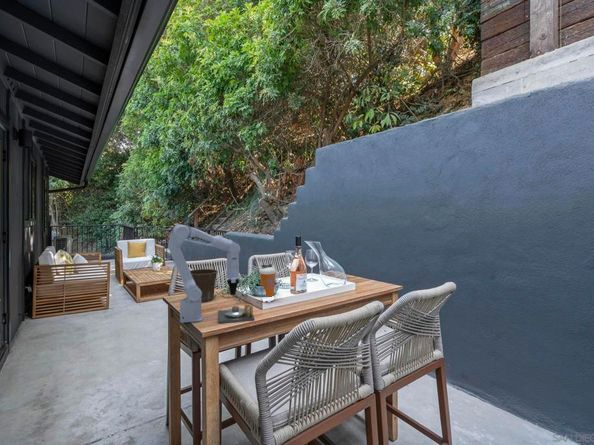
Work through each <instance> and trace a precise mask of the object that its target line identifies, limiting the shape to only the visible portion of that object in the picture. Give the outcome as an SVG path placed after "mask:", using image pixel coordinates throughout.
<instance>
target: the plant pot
mask: <svg viewBox="0 0 594 445" xmlns="http://www.w3.org/2000/svg"><path fill="white" fill-rule="evenodd" d="M190 272H191V275H192V277H193V279H194V281H195V283H196V285H197V286H198V288H199V289H200V290H201V292H202V296H201V303H207V302H208V301H210V302H212V301H213V300H214V298H215V288H216V287H215V286H216V279H217V274H218V270H217V269H213V268H211V269H210V268H209V269H208V268H200V269H192V270H190Z"/></svg>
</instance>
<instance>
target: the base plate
mask: <svg viewBox="0 0 594 445" xmlns="http://www.w3.org/2000/svg"><path fill="white" fill-rule="evenodd" d="M243 309H245V307H244V308H243ZM226 310H227V309H220V310H217V320H218V321H217V324H218V325H221V324H222V325H223V324H232V323H239V322H240V323H241V322H242V323H243V322H245V323H246V322H255V321H256V320H255V315H254V314H253V315H250V317H247V315H243V316H239V317H228V316H226V315H225V311H226Z"/></svg>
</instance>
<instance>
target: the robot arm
mask: <svg viewBox="0 0 594 445" xmlns="http://www.w3.org/2000/svg"><path fill="white" fill-rule="evenodd" d="M188 237H189V238H194V237H195V238H199V239H201V240H205V241H206V242H209V243H211V246H212V247H214V248H216V249H219V250H221V251H222V252H226V279H227V280H226V283H227V284H228V288H229V293H230V296H235V295H236V292H237V288H238V285H239V283H240V280H239V278H242V275H241V274H240V257H239V256H240V252H241V246H240V245H239V243H237V242H234V241H233V240H232V239H230V238H229V239H227V238H225V237H224V236H223V235H221V234H217V235H214V236H213V235H212V234H209V233H207V232H204V231H202V230H200V229H198V228H195V227H191V226H187V225H185V224H176V225H174V227H173V228H172V230H171V231H170V236H169V240H168V245H167V248H168V250H169V252H170V255H171V257H172V260H173V263H174V265H175V267H176V269H177V271H178V274H179V276H180V278H181V280H182V283H183V286H184V294H185V295H186V297H185V298H184V300H180V302H179V323H195V322H203V319H204V318H203V316H204V314H203V313H202V312H203V311H202V302H201V296H202V292H201V290H200V289H199V288H198V286H197V285H196V283H195V281H194V279H193V277H192V275H191V272H190V271H191V270H190V267H189V266H188V263H187V261H186V259H185V256H184V253H183V251H182V249H181V247H182V245H183V243H184V241H186V239H187V238H188Z"/></svg>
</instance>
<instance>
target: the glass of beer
mask: <svg viewBox="0 0 594 445" xmlns="http://www.w3.org/2000/svg"><path fill="white" fill-rule="evenodd" d="M275 268H276V266H275V265H274V264H270V263H269V264H261V268H259V277H260V281H261V282H260V286H261V285H262V286H263V287H264V289H265V291H266V296H267V297H272V296H274V297H275V294H274V287H275V288H276V286H275V285H276V273H277V271H276V269H275Z"/></svg>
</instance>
